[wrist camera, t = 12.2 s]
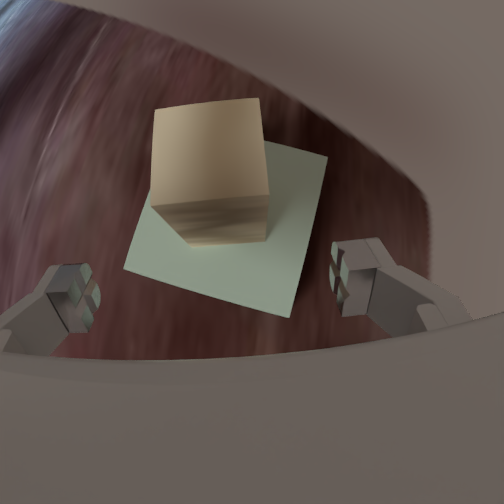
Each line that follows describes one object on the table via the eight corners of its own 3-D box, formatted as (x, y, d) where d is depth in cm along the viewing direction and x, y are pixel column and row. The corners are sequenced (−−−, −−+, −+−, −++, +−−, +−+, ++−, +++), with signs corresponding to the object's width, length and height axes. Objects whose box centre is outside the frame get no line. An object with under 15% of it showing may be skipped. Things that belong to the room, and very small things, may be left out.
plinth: (142, 275, 26) (123, 268, 22) (187, 146, 28) (177, 123, 24) (284, 316, 25) (289, 317, 21) (318, 177, 27) (327, 157, 23)
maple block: (191, 247, 22) (150, 206, 13) (189, 179, 23) (154, 109, 14) (264, 241, 22) (269, 194, 13) (258, 173, 23) (258, 97, 14)
